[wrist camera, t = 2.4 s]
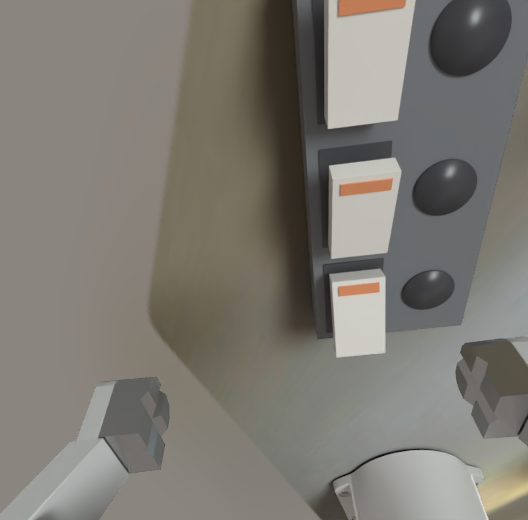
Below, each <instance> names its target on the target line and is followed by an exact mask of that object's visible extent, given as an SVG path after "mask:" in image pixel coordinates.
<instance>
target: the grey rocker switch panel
mask: <svg viewBox="0 0 528 520" xmlns="http://www.w3.org/2000/svg"><path fill="white" fill-rule="evenodd" d="M292 9H293V24H294V38H295V53H296V68H297V83H298V98H299V112H300V127H301V142H302V157H303V171H304V186H305V201H306V216H307V231H308V245H309V260H310V275H311V290H312V305H313V315H314V321H315V327H316V333H317V339H324V338H333V326H332V310H331V294H330V278H329V274H334V273H344V272H353V271H362V270H372V269H381V270H382V272H383V273H384V275H385V332H395V331H405V330H416V329H426V328H436V327H446V326H456V325H461V323H462V319H463V315H464V311H465V307H466V303H467V299H468V295H469V291H470V287H471V283H472V279H473V275H474V271H475V267H476V263H477V259H478V255H479V251H480V247H481V243H482V238H483V234H484V230H485V226H486V222H487V218H488V214H489V210H490V206H491V202H492V198H493V194H494V190H495V186H496V182H497V178H498V174H499V170H500V166H501V162H502V158H503V154H504V150H505V146H506V142H507V138H508V134H509V130H510V125H511V121H512V117H513V113H514V109H515V105H516V101H517V97H518V93H519V89H520V85H521V81H522V77H523V73H524V69H525V65H526V61H527V57H528V0H416V1H415V7H414V14H413V21H412V27H411V34H410V41H409V48H408V54H407V61H406V68H405V74H404V81H403V88H402V94H401V101H400V108H399V115H398V120H395V121H388V122H380V123H372V124H364V125H356V126H349V127H341V128H333V129H328V128H327V124H326V121H325V118H324V0H292ZM387 158H396V160H397V162H398V165H399V167H400V169H401V171H402V172H401V178H400V184H399V189H398V195H397V201H396V206H395V212H394V218H393V224H392V229H391V235H390V241H389V246H388V252H387V253H381V254H372V255H363V256H353V257H344V258H335V259H331V255H330V250H329V246H328V226H329V166H330V165H338V164H346V163H354V162H363V161H371V160H379V159H387Z"/></svg>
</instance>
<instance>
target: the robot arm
mask: <svg viewBox="0 0 528 520" xmlns="http://www.w3.org/2000/svg"><path fill="white" fill-rule="evenodd" d="M460 353H461V355H462V357H463V359H462V360H461V361H459V362H458V363H457V367H456V381H457V384H458V387H459V390H460V392H461V394H462V397H463V399H465V400H466V401H468V402H469V403H470V404H472V405H473V410H472V413H471V415H472V417H473V419H474V421H475V423H476V425H477V427H478V429H479V431H480V433H481V435H482V437H483V439H486V438H501V437H515V436H519V439H520V440H521V441H522V442H524V443H525V444H526V445H527V446H528V338H527V337H515V338H507V339H503V338H502V339H494V340H486V341H477V342H469V343H465V344H464V345H463V346H462V348H461V351H460ZM160 385H161V384H160V382H159V380H158V378H157V377H150V378H138V379H126V380H115V381H105V382H100V383H99V384H98V385H97V387H96V388H95V391H94V394H93V396H92V399H91V402H90V404H89V407H88V410H87V413H86V416H85V418H84V421H83V424H82V427H81V429H80V432H79V435H78V438H77V440H76V441H71V442H70V443H69V444H68V445H67V446H66V447H65V448H64V449H63V450H62V451H61V452H60V453H59V454H58V455H57V456H56V457H55V458H54V459H53V460H52V461H51V462H50V463H49V464H48V466H46V467H45V468H44V470H42V471H41V473H40V474H39V475H38V476H37V477H36V478H35V479H34V480H33V481H32V482H31V483H30V484H29V485H28V486H27V487H26V488H25V489H24V490H23V491H22V492H21V493H20V494H19V495H18V496H17V497H16V498H15V499H14V500H13V501H12V503H10V504H9V505H8V506H7V507H6V508H5V510H3V512H2V513H1V514H0V520H99V519H100V517H101V516H102V515H103V513H104V512H105V510H106V509H107V507H108V506H109V504H110V503H111V502H112V500H113V499H114V497H115V496H116V494H117V493H118V491H119V490H120V488H121V487H122V486H123V484H124V483H125V481H126V479H127V478H128V477H129V473H137V472H144V471H152V470H160V469H161V464H162V458H163V453H164V447H165V444H164V442H163V440H162V438H161V436H162V435H163V434H164V432H165V431H166V430H167V429H168V424H169V403H168V400H167V397H166V395H165V394H164V393H162V392H161V391H159V390H160ZM483 480H484V477H483V474H482V471H481V469H479V468H476V467H473V466H469V465H466V464H464V463H463V462H461V461H460V460H459V459H458V458H456V457H455V456H453V455H450V454H447V453H444V452H439V451H431V450H412V451H404V452H398V453H393V454H389V455H385V456H382V457H379V458H377V459H374V460H372V461H370V462H368V463H366V464H364V465H363V466H361V467H360V468H359V469H357V470H356V471H355V472H353V473H352V474H349V475H347V476H344V477H341V478H339V479H337V480H335V481H334V482H333V487H334V491H335V493H336V495H337V497H338V499H339V501H340V503H341V505H342V507H343V509H344V511H345V513H346V515H347V517H348V519H349V520H488V517H487V514H486V512H485V509H484V506H483V503H482V501H481V498H480V495H479V493H478V490H477V487H478V486H479V485H480V484H481V483H482V481H483Z"/></svg>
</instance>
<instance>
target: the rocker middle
mask: <svg viewBox="0 0 528 520" xmlns="http://www.w3.org/2000/svg"><path fill="white" fill-rule="evenodd" d="M401 172H402V171H401V169H400V167H399V165H398V162H397V160H396V158H387V159H379V160H371V161H363V162H354V163H346V164H338V165H330V166H329V226H328V246H329V250H330V255H331V259H335V258H344V257H353V256H363V255H372V254H381V253H387V252H388V246H389V241H390V235H391V229H392V224H393V218H394V212H395V206H396V201H397V195H398V189H399V184H400V178H401Z"/></svg>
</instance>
